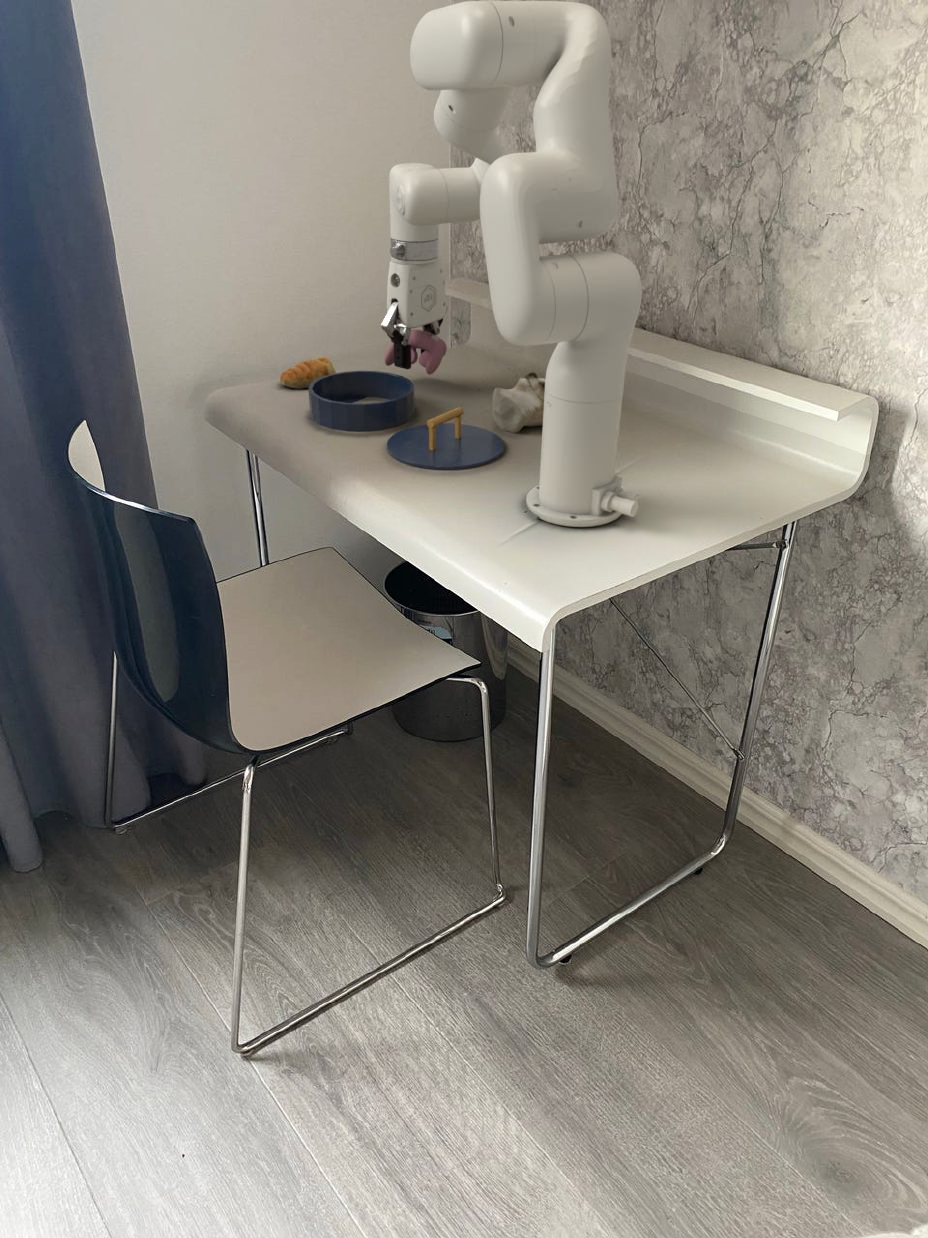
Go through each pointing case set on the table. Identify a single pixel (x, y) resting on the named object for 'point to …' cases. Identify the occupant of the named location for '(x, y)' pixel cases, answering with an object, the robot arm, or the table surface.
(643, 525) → the table surface
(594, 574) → the table surface
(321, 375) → the pastry
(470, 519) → the table surface
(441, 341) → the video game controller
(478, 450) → the lid
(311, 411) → the tin
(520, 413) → the ceramic sculpture
